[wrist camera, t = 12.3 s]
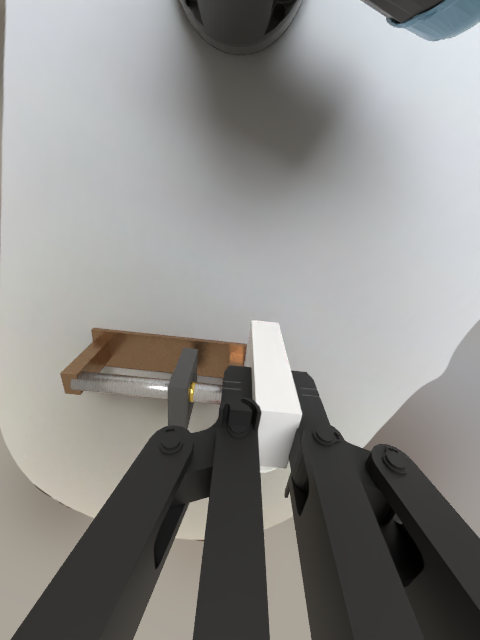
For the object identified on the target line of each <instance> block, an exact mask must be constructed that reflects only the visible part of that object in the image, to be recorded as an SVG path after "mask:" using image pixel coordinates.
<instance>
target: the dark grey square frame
mask: <svg viewBox="0 0 480 640" xmlns="http://www.w3.org/2000/svg"><path fill="white" fill-rule="evenodd" d="M197 363H198V349H192V348H183V350H182V353H181V355H180V358H179V360H178V362H177V365H176V367H175V370H174V372H173V375H172V377H171V380H170V382H169V385H168V426H172V425H175V426H182V427H184V428H185V429H187V428H188V424H189V420H190V416H191V412H192V408H193V404H194V402H188V391H189V387H190V383H191V381H192V382H197Z"/></svg>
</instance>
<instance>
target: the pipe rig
mask: <svg viewBox="0 0 480 640" xmlns="http://www.w3.org/2000/svg"><path fill="white" fill-rule="evenodd" d="M91 331H92V337H93V342H92V343H91V344H90V345H89V346H88V347H87V348H86V349H85V350H84V351H83V352H82V353H81V354H80V355H79V356H78V357H77V358H76V359H75V360H74V361H73V362H72V363H71V364H70V365H68V366H67V367H66V368H65V369H64V370H63V371H62V372H61V373H60V374H61V378H62V382H63V386H64V390H65V393H67V394H77V395H81V394H82V392H83V391H89V392H99V393H109V394H120V395H130V396H140V397H151V398H161V399H168V385H169V382H170V380H165V379H155V378H145V377H135V376H125V375H115V374H105V373H99V372H100V371H101V369H102V368H103V367H104V366H111V367H121V368H131V369H141V370H151V371H161V372H171V373H173V372H174V370H175V367H176V365H177V362H178V360H179V358H180V355H181V353H182V350H183V348H192V349H198V363H197V375H201V376H211V377H220V378H224V372H225V370H226V369H227V368H228V367H229V365H233V366H243V367H244V361H245V354H246V347H247V344H241V343H232V342H222V341H213V340H204V339H194V338H185V337H175V336H166V335H156V334H147V333H137V332H128V331H118V330H109V329H99V328H93V329H92V330H91ZM222 387H223V385H215V384H205V383H197V382H192V381H191V383H190V387H189V391H188V402H202V403H212V404H221V395H222Z"/></svg>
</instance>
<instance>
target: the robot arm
mask: <svg viewBox="0 0 480 640" xmlns="http://www.w3.org/2000/svg"><path fill="white" fill-rule="evenodd" d="M361 1H362V2H364V3H365V4H367V5H368V6H370V7H372V8H373V9H375V10H376V11H378V12H379V13H381V14H382V15H384V16H385V17H386V21H387V22H388V23H389V24H390V25H391V26H393V27H396V28H405V29H407V30H409V31H410V32H412V33H414V34H416V35H418V36H419V37H421V38H423V39H425V40H428V41H438V40H441V39H443V40H444V39H447V38H452V37H455V36H457V35H459V34H461V33H463V32H464V31H466V30H468V29H470V28H471V27H473V26H474V25H476V24H477V23H479V22H480V0H361ZM180 2H181V5H182V7H183V9H184V12H185V14H186V16H187V17H188V19H189V21H190V22H191V24H192V26H193V27H194V28H195V30H196V31H197V32H198V33H199V35H200V36H201V37H202V38H203V39H204V40H206V41H207V42H208V43H209V44H211V45H212V46H213V47H215V48H217V49H219V50H221V51H223V52H226V53H229V54H235V55H246V54H252V53H255V52H258V51H260V50H263V49H264V48H266V47H268V46H269V45H271V44H272V43H273V42H275V41H276V40H277V39H278V38H279V37H280V36H281V35H282V34H283V33H284V32H285V30H286V29H287V28H288V26H289V25H290V24H291V22H292V20H293V19H294V17H295V15H296V13H297V11H298V9H299V7H300V5H301V2H302V0H180ZM288 461H290V467H291V473H290V476H289V480H288V483H287V486H286V489H285V498H288V495H289V492H290V496H291V503H292V510H293V517H294V523H295V530H296V537H297V544H298V550H299V557H300V563H301V570H302V577H303V583H304V591H305V598H306V604H307V611H308V618H309V625H310V631H311V638H312V640H480V538H478V536H477V535H476V534H475V533H474V532H473V530H472V529H471V528H470V527H469V526H468V525H467V523H466V522H465V521H464V520H463V519H462V518H461V516H460V515H459V514H458V513H457V512H456V511H455V509H454V508H453V507H452V506H451V505H450V504H449V502H448V501H447V500H446V499H445V498H444V497H443V496H442V494H441V493H440V492H439V491H438V490H437V489H436V487H435V486H434V485H433V484H432V483H431V482H430V481H429V479H428V478H427V477H426V476H425V475H424V474H423V472H422V471H421V470H420V469H419V468H418V467H417V465H416V464H415V463H414V462H413V461H412V460H411V459H410V458H409V457H408V456H407V455H406V454H405V453H403V452H402V451H400V450H399V449H397V448H396V447H393V446H390V445H387V444H378V445H376V446H374V447H373V449H372V451H368V450H366V449H363V448H360V447H358V446H355V445H352V444H350V443H348V442H346V441H345V440H344V438H343V437H342V435H341V433H340V432H339V431H338V430H337V429H336V428H334V427H333V426H331V425H330V423H329V420H328V418H327V415H326V412H325V410H324V407H323V404H322V402H321V399H320V397H319V393H318V391H317V388H316V385H315V383H314V380H313V379H312V378H311V377H310V376H309V375H308V373H307V372H299V371H291V369H290V365H289V361H288V357H287V354H286V350H285V346H284V342H283V338H282V334H281V331H280V327H279V323H275V322H265V321H256V320H252V321H251V328H250V335H249V341H248V348H247V355H246V367H243V366H233V365H229V367H228V368H227V369H226V370H225V372H224V378H223V387H222V395H221V404H220V408H219V417H218V420H217V421H216V423H215V424H214V425H213V426H212V427H210V428H208V429H206V430H203V431H200V432H195V433H190V432H189V431H188V430H187V429H185V428H184V427H182V426H175V425H172V426H167V427H164V428H162V429H160V430H158V431H157V432H156V433H155V434H154V435H153V436H152V437H151V438H150V439H149V441H148V442H147V444H146V445H145V447H144V448H143V449H142V451H141V452H140V454H139V455H138V457H137V458H136V460H135V461H134V462H133V464H132V465H131V467H130V468H129V470H128V471H127V473H126V474H125V475H124V477H123V478H122V480H121V481H120V483H119V484H118V486H117V487H116V488H115V490H114V491H113V493H112V494H111V496H110V497H109V499H108V500H107V501H106V503H105V504H104V506H103V507H102V509H101V510H100V511H99V513H98V514H97V516H96V517H95V519H94V520H93V522H92V523H91V524H90V526H89V528H88V529H87V530H86V532H85V533H84V535H83V536H82V538H81V539H80V540H79V542H78V543H77V545H76V546H75V548H74V549H73V551H72V552H71V553H70V555H69V556H68V558H67V559H66V561H65V562H64V563H63V565H62V566H61V568H60V569H59V571H58V572H57V574H56V575H55V576H54V578H53V579H52V581H51V583H50V584H49V585H48V587H47V588H46V589H45V591H44V592H43V594H42V595H41V597H40V598H39V599H38V601H37V602H36V604H35V605H34V607H33V608H32V610H31V611H30V612H29V614H28V615H27V617H26V618H25V620H24V621H23V623H22V624H21V626H20V627H19V628H18V630H17V631H16V633H15V634H14V636H13V637H12V639H11V640H133V638H134V636H135V633H136V631H137V628H138V626H139V624H140V621H141V619H142V616H143V614H144V611H145V609H146V607H147V604H148V602H149V599H150V597H151V594H152V592H153V590H154V587H155V585H156V582H157V580H158V578H159V575H160V572H161V570H162V568H163V565H164V563H165V560H166V558H167V556H168V553H169V551H170V548H171V546H172V544H173V541H174V539H175V536H176V534H177V532H178V529H179V527H180V524H181V522H182V519H183V517H184V515H185V512H186V510H187V507H188V505H189V502H193V501H196V500H200V499H203V498H207V497H209V504H208V513H207V522H206V530H205V539H204V548H203V556H202V565H201V573H200V582H199V591H198V599H197V608H196V616H195V625H194V633H193V640H270V635H269V617H268V600H267V582H266V565H265V547H264V532H263V531H264V530H263V512H262V495H261V477H260V466H265V467H276V468H287V464H288Z"/></svg>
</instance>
